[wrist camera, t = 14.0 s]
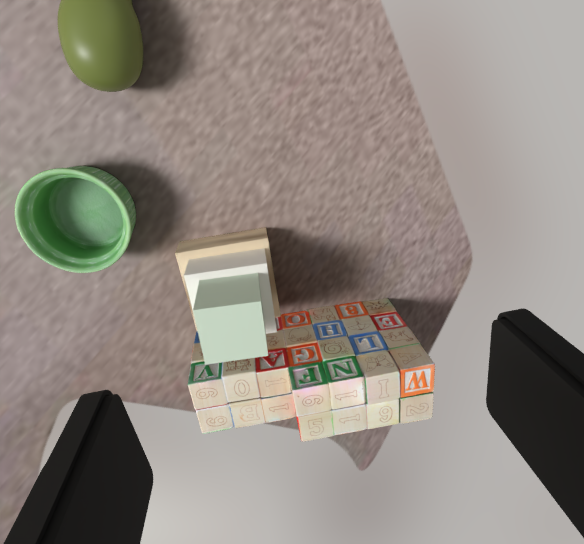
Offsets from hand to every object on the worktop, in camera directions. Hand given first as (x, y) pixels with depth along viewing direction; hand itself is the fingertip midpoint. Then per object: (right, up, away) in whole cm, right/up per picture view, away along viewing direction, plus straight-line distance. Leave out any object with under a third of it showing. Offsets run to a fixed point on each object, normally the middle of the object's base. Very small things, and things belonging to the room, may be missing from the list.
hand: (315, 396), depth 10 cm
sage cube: (-6, 0, +25) cm, 26 cm away
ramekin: (-19, +9, +27) cm, 35 cm away
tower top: (-6, +2, +29) cm, 29 cm away
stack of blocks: (0, -4, +36) cm, 36 cm away
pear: (-15, +23, +22) cm, 35 cm away
